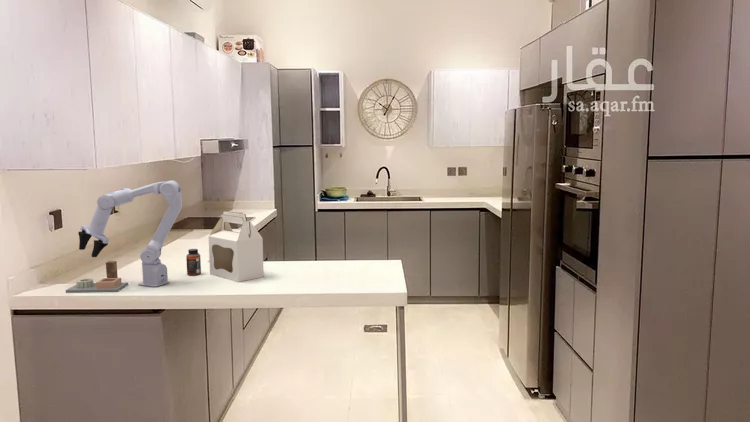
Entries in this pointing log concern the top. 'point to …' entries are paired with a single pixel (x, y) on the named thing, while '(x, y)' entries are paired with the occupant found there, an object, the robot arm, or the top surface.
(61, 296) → the top surface
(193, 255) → the supplement bottle
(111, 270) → the square bit
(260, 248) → the gable box
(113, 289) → the socket block
